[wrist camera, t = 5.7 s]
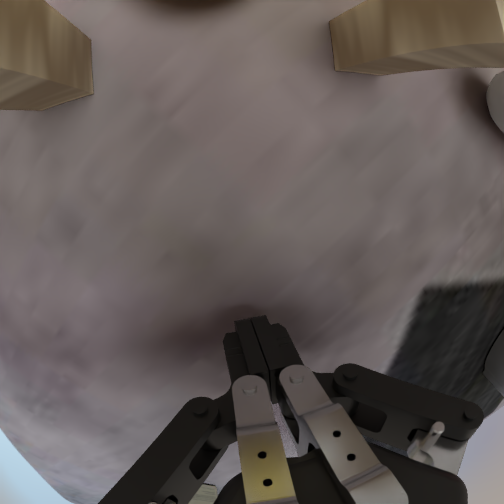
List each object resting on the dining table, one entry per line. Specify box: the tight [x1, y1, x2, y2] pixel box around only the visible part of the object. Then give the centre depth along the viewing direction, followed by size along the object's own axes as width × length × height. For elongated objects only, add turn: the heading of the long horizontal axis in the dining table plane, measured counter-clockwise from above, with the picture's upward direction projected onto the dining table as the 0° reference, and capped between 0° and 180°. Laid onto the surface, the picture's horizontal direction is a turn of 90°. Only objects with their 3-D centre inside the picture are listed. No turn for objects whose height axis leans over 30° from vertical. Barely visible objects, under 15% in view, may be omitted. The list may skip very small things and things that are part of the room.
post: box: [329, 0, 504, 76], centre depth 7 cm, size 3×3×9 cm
